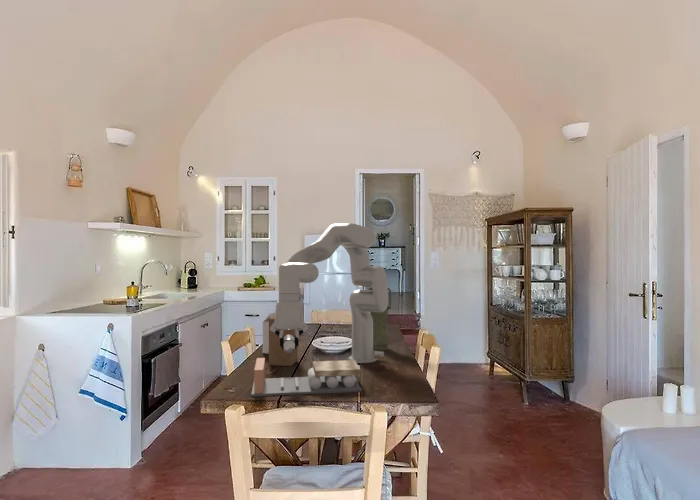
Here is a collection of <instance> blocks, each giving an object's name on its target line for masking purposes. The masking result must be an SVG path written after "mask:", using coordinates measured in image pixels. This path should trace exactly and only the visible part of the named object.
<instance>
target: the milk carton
mask: <svg viewBox="0 0 700 500" xmlns="http://www.w3.org/2000/svg"><path fill="white" fill-rule="evenodd" d="M273 317H275V312H272V313H269V314H268V315H267V316H266V317H265V318H266V319H264V320H263V321H262V354H268V355H269V319H270V318H273Z"/></svg>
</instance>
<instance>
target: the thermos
mask: <svg viewBox="0 0 700 500" xmlns="http://www.w3.org/2000/svg"><path fill="white" fill-rule="evenodd" d="M367 290H373V288H372V287H368V289H367ZM387 290H388V305H387V308H386V310H385V311H383V312H370V314H371V316H372V319H373V350H374V351H380V352H385V351H388V349H389V348H388V347H389V346H388V344H389V337H388V313H389V310H391V308H392V306H391V305H392V291H391V288H390V287H387Z"/></svg>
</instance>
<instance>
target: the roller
mask: <svg viewBox="0 0 700 500" xmlns="http://www.w3.org/2000/svg"><path fill="white" fill-rule="evenodd" d="M294 350H295V342H294V337H293V336H292V335H286V336H285V337H284V351H285V352H286V353H292V352H294Z"/></svg>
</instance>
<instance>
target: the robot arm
mask: <svg viewBox="0 0 700 500" xmlns="http://www.w3.org/2000/svg"><path fill="white" fill-rule="evenodd" d="M375 241H376V236H375V232H374V231H373V229H372V228H370V227H366V226H364V225H361V224H356V223H352V222H351V223H349V222H346V223H344V222H343V223H332V224H330V225H329V226H328V227H327V228H326V229H325V230H324V231H323V233H321V235H320V236H318V238H317V239H316V241H315V242H313V243H311V244H309V245H308V246H306V247H304V248H302V249H300V250H299V251H296V252H295V253H294V254H292V255H291V256H290V258H289V259H288V260H287V261H286V262H285V263H282V264H279V266H278V301H276V304H275V321H274V323H273V324H272V326H271V327H270V330H271V331H272V332H274V333H275V334H276V335H277V336H278V337H279V338H280V347H282V349H284V337H283V331H284V330H292V329H295V334H296V335H295V337H294V342H295V349H297V346H298V347H299V338H300V337H301V336H302V334H304V333H305V332H307V331H308V330H309V327H308V325H307V323H306V322H305V320H304V310H303V309H304V308H303V302H302V300H301V299H304V294H301V293H300V292H301V291H300V284H301V283H302V284H311V283H314V282H316V280H317V279H318V278H319V272H320V271H319V269H318V267H317V265H315V264H316V263H321V262H324V261H326V260H328V259H330V258H331V257H332V255H333V254H334V253H335V252H336V251H337V249H338V248H340V246H342V247H343V249H345V251H346V252H347V255H348V256H349V263H350V275H351V282H352V284H353V286H356V287H360V288H371V287H372V288H373V290H368V289H355V290H353V291H352V292H351V293H350V295H349V306H350V311H351V355H350V356H348V359H347V360H355V362H356V363H357V364H369V363H370V364H371V363H374V362H377V360H378V359H377V357H385V351H374V350H373V319H372V316H371V314H370V312H383V311H385V310H386V308H387V305H388V306H389V290H387V288H388V276H387V273H386V271H385V269H384V267H382V266H379V265H371V264H370V263H371V261H370V255H369V251H368V250H367V248H371V247H372V246H374V244H375ZM275 327H276V329H279V330H280V332H279V331H278V330H276V329H275Z"/></svg>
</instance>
